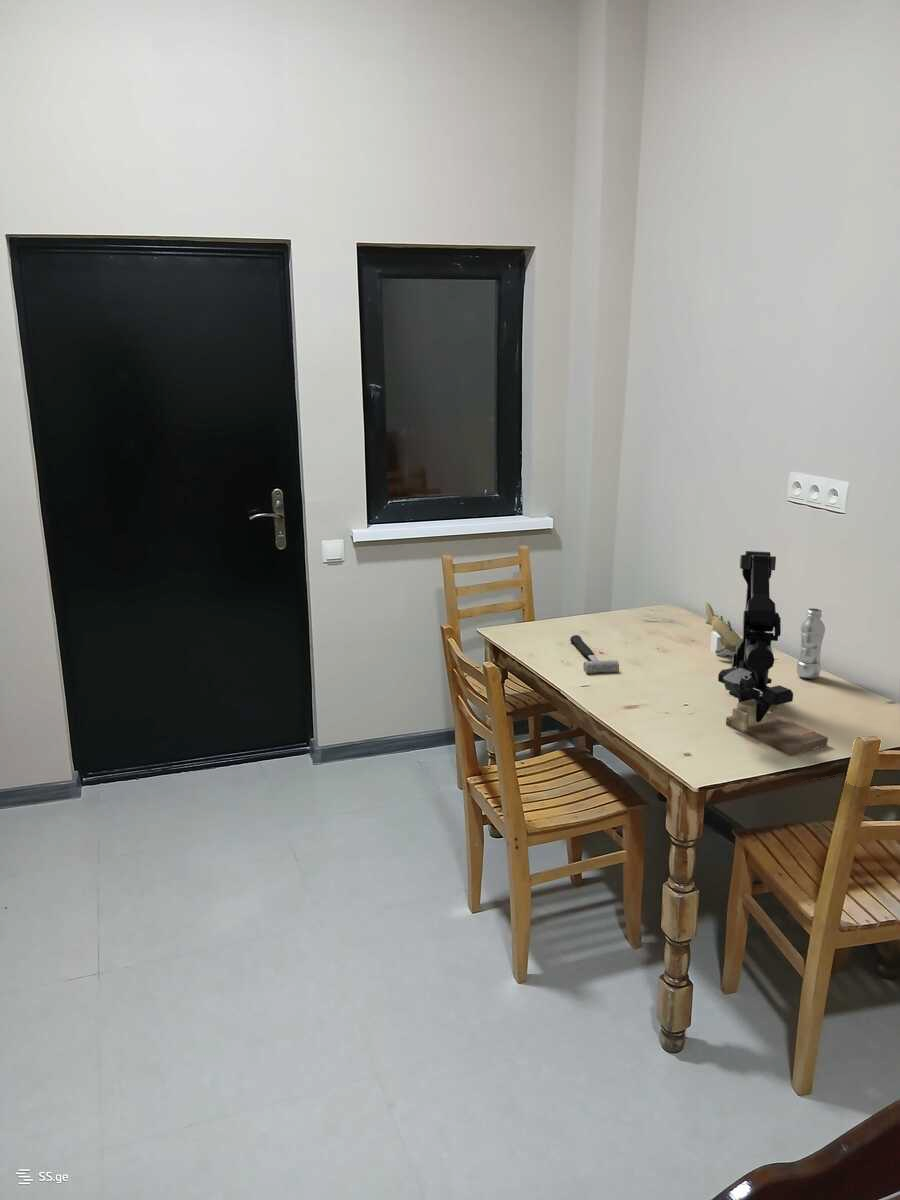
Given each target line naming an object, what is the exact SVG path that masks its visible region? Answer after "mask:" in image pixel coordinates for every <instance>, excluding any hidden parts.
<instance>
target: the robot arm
mask: <svg viewBox="0 0 900 1200" xmlns="http://www.w3.org/2000/svg"><path fill="white" fill-rule="evenodd" d="M776 562H777V556H776V555H775V556H773V555H771V551H754V550H753V551H751V550H746V551H745V554H740V559H739V569H741V574H742V577H743V579H744V581H745V582H746V596H745V606H744V607H745V608H744V611H743V614H742V638H741V641H740V642H739V643H738V645H737V646H736V653H733V655H732V659H731V667H730V668H729V667H728V668H725V669H721V670H720V672H719V673H718V675H717V676H718V677H717V681H718V682H719V683H722V684H724V688H725V691H728V694H730V695H731V696H734V697H736V698H737V701H738V702H742V701H747V700H751V699H754V700H755V701H756V702H757V708H756V722H760V721H761V720H762V718H763V717H764V715H765V714H766V712H767V711H768V709H769V708H770V706H771V705H772V704H773V705H777V706H779V705H784V704H786V703H791V702H792V703H793V699H794V692H793V691H792V689H791V688H788V687H784V686H782V685H780V684H779V685H775V686H768V685H769V684H772V681H773V680H772V678H770V677H769V670H770V669H771V668H773V667H774V663H775V657H774V652H773V649H772V642H774V641H775V642H778V641H779V637H781V634H782V633H781V629H782V627H781V625H782V624H781V623H782V622H781V620H782V618H781V617H780V614H779V612H776V611H777V610H776V603H775V602H774V601H773V600H772V599H771V597H770V580H771V577H772V571H775V570H776V566H777V565H776ZM773 631H774V633H773Z"/></svg>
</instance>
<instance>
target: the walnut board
mask: <svg viewBox="0 0 900 1200" xmlns="http://www.w3.org/2000/svg"><path fill="white" fill-rule="evenodd" d="M731 724H732V715H729V716H727V717H726V718H725V725H726V726H727V727H729V728H732V729H733V730H736V731H737V732H740V733H742V734H743V735H745V736H746V735H747V736H748V737H750V738H753V739H754V740H756V741H758V742H760V743H762V744H765V745H767V746H768V747H771V748H773V749H775V750H776V751H779V752H781V753H783V754H785V755H787V756H789V757H793V756H795V755H799V754H802V753H801V752H803V753H805V752H804V751H806V752H809V751H808V750H810V751H812V749H813V750H815V749H814V748H817V747H820V748H822V747H821V746H824V747H826V746H825V745H827V746H828V743H829V742H828V740H829V737H827V736H825V735H823V734H820V733H819V732H817V731H814V730H813V729H809V728H808V727H805V726H802V725H800V724H798V723H797V722H796V723H795V722H794V721H791V720H789V719H787V718H784V717H782V716H780V715H778V714H775V713H773V712H771V711H768V712H767V723H764V724H760V725H757V726H753V727H749V728H748V727H747V731H742V730H740V729H738V728H735V727H733V726H731ZM817 749H818V748H817ZM798 753H799V754H798ZM792 755H793V756H792Z"/></svg>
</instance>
